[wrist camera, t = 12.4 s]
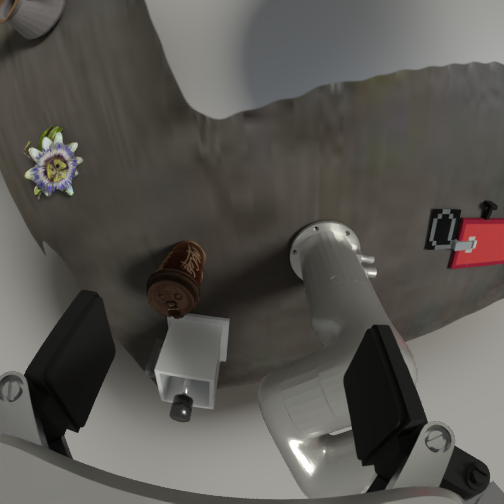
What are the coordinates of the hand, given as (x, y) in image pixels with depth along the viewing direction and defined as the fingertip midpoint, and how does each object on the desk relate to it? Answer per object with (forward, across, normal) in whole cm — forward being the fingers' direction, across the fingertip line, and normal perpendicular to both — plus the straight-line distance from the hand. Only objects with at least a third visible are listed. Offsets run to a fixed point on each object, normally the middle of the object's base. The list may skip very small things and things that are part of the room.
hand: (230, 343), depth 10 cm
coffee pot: (+39, +36, -28) cm, 60 cm away
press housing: (+38, +9, +40) cm, 56 cm away
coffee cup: (+38, +10, +20) cm, 45 cm away
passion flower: (+39, +35, +3) cm, 52 cm away
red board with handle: (+39, -49, +7) cm, 63 cm away
